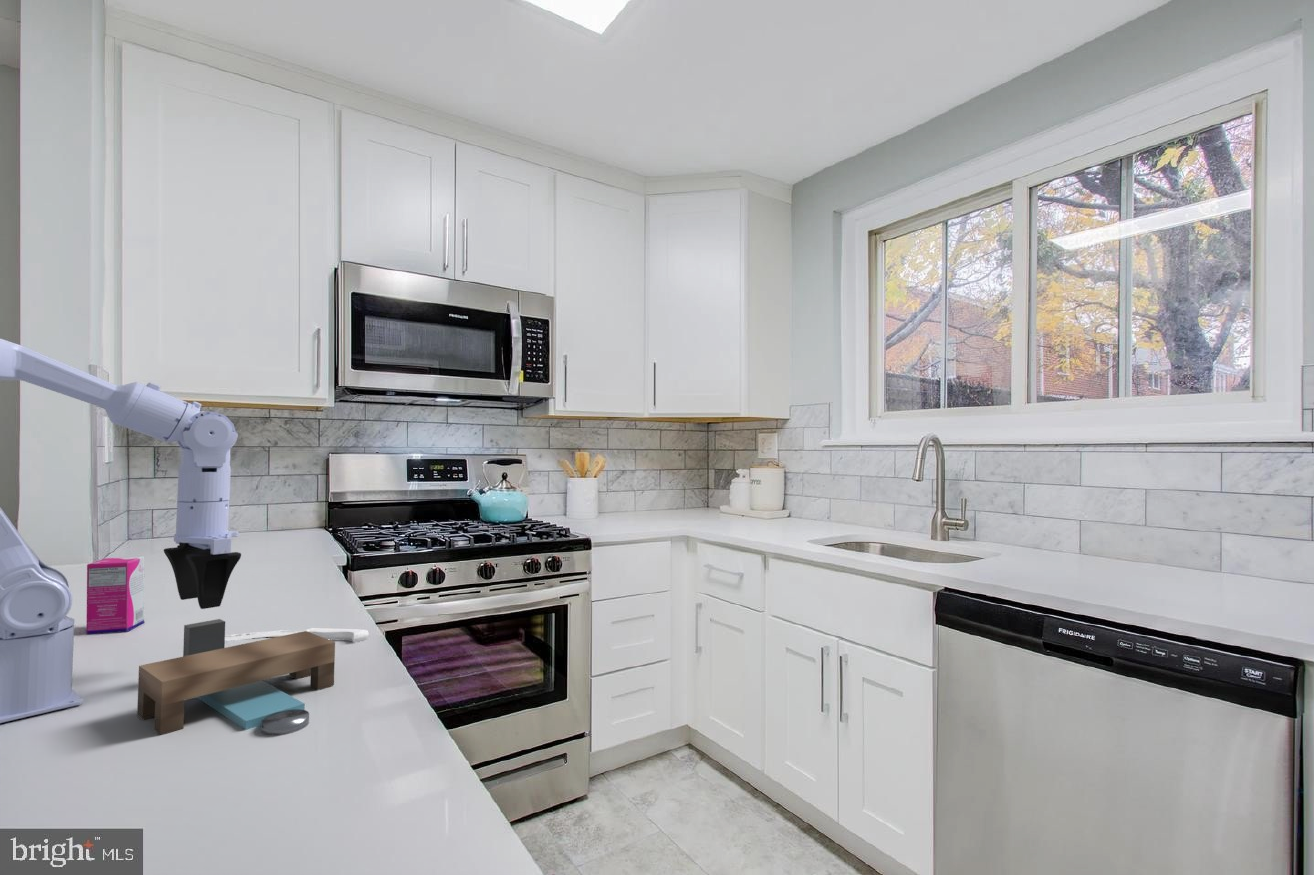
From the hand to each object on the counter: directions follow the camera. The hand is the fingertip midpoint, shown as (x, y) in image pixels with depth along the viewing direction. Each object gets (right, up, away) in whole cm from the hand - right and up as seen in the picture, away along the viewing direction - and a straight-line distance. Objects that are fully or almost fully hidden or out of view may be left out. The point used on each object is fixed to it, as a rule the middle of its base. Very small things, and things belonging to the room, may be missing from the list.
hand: (199, 602), depth 83 cm
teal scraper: (+9, -9, -7) cm, 15 cm away
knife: (0, -11, +16) cm, 19 cm away
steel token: (+21, -10, -15) cm, 27 cm away
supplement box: (-29, -10, +20) cm, 37 cm away
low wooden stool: (+11, -9, -8) cm, 17 cm away
